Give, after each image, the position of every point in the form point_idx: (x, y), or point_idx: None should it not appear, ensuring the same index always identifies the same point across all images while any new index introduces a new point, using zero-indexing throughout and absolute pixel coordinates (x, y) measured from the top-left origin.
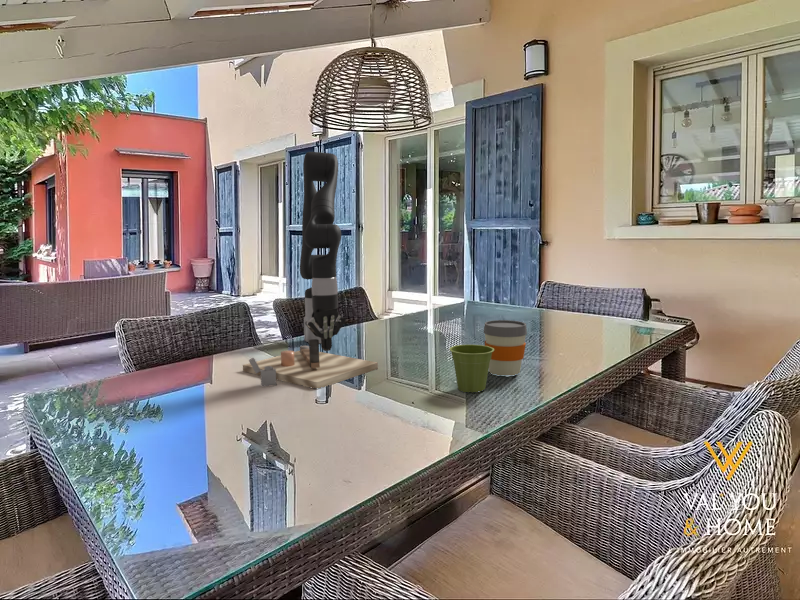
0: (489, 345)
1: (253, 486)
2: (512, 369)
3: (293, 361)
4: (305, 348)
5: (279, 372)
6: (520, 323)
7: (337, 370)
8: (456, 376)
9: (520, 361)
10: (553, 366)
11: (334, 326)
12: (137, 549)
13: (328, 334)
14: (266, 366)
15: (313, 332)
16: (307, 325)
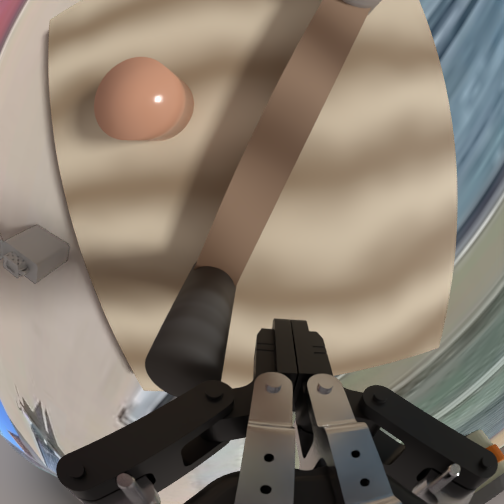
0: None
1: (42, 453)
2: None
3: (168, 135)
4: (350, 2)
5: (77, 212)
6: (500, 490)
7: None
8: None
9: None
10: (500, 435)
11: (406, 441)
12: (5, 437)
13: (296, 433)
14: (7, 258)
15: (170, 416)
16: (84, 464)
